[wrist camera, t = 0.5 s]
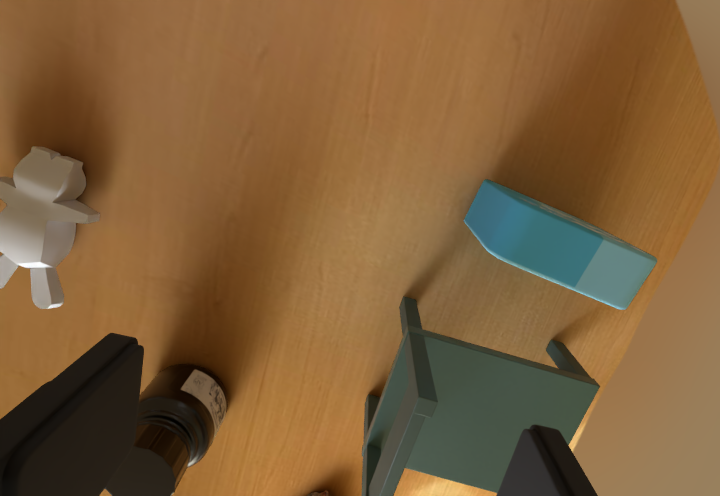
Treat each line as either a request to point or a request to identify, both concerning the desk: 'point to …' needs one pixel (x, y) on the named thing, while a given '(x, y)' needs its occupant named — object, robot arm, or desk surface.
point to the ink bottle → (171, 430)
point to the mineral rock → (319, 494)
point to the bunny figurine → (41, 220)
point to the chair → (464, 408)
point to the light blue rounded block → (557, 245)
